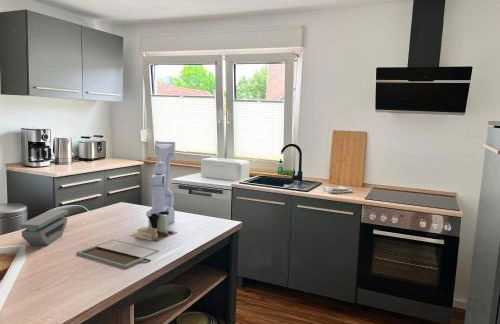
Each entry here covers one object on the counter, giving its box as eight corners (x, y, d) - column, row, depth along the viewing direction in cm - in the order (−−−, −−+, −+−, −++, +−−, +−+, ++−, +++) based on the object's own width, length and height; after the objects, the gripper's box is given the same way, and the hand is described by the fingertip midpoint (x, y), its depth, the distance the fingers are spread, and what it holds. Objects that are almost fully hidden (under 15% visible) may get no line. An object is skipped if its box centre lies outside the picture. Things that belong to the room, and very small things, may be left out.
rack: (151, 229, 190) (151, 224, 190) (178, 234, 183) (178, 230, 183) (128, 238, 176) (128, 233, 176) (156, 244, 169) (156, 239, 169)
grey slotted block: (52, 231, 182) (51, 209, 180) (68, 232, 182) (68, 209, 180) (20, 250, 157) (19, 224, 156) (39, 250, 157) (38, 225, 156)
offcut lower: (142, 234, 179) (142, 230, 179) (157, 237, 175) (157, 233, 175) (135, 236, 175) (135, 232, 175) (150, 240, 171) (150, 235, 171)
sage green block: (151, 230, 185) (151, 212, 184) (167, 233, 181) (168, 215, 180) (148, 231, 184) (148, 213, 182) (165, 234, 179) (165, 216, 178)
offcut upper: (142, 230, 178) (142, 226, 177) (156, 233, 175) (156, 228, 175) (137, 233, 174) (137, 229, 174) (151, 235, 171) (151, 231, 171)
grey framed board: (113, 239, 171) (165, 252, 157) (113, 242, 171) (165, 255, 157) (76, 252, 154) (131, 267, 140) (76, 255, 154) (131, 272, 140)
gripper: (154, 203, 172) (154, 233, 174) (174, 198, 185) (174, 225, 187) (142, 201, 175) (142, 230, 177) (162, 196, 188) (162, 222, 190)
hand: (158, 227), depth 182 cm, fingers open, 5 cm apart
